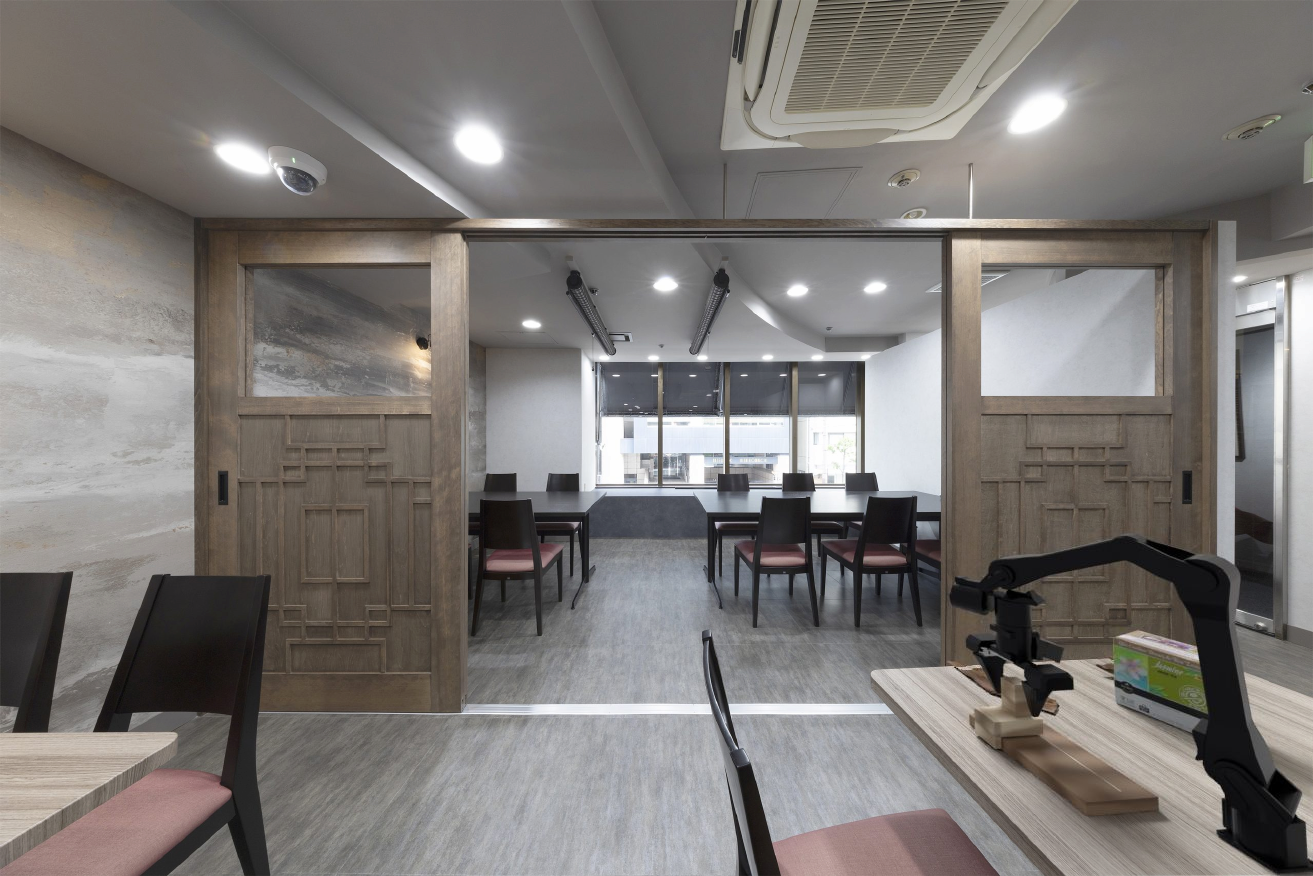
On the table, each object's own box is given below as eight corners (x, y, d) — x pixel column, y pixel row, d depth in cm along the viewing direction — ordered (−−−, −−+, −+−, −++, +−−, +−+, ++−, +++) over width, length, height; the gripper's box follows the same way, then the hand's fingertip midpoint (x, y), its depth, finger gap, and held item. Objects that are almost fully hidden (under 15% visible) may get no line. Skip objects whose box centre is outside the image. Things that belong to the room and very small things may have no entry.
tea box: (1113, 704, 101) (1110, 635, 102) (1139, 694, 105) (1136, 628, 105) (1215, 744, 87) (1211, 664, 87) (1241, 732, 91) (1237, 655, 91)
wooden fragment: (1075, 712, 99) (1075, 707, 99) (1035, 720, 96) (1035, 715, 96) (968, 659, 124) (968, 655, 124) (934, 665, 121) (934, 661, 121)
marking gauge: (1043, 745, 87) (1041, 686, 87) (995, 749, 86) (993, 689, 86) (1021, 729, 92) (1018, 673, 92) (975, 732, 91) (973, 676, 91)
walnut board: (1159, 810, 72) (1158, 796, 72) (1086, 816, 71) (1086, 802, 71) (1024, 720, 96) (1024, 710, 96) (969, 723, 95) (969, 713, 95)
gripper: (1101, 640, 81) (1105, 731, 81) (1012, 604, 100) (1014, 678, 99) (1041, 643, 80) (1045, 735, 80) (962, 607, 99) (965, 681, 98)
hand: (1016, 704), depth 89 cm, fingers open, 8 cm apart
